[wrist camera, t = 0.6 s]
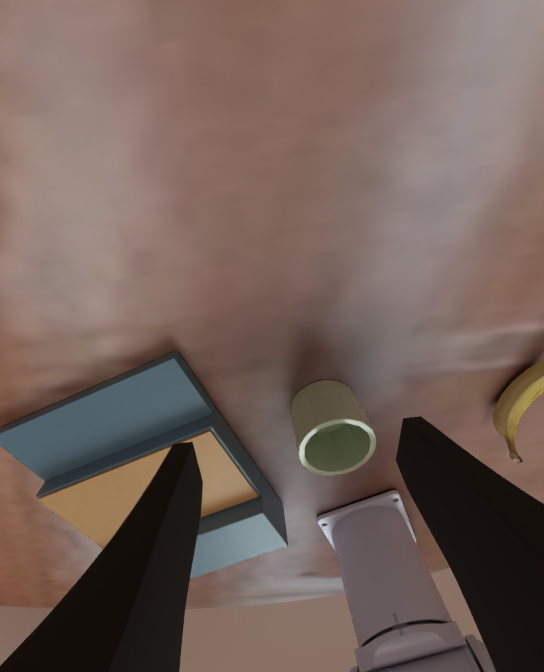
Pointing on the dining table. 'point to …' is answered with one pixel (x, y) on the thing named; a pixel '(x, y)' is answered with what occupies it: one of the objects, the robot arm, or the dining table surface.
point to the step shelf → (148, 461)
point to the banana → (517, 404)
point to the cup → (331, 429)
